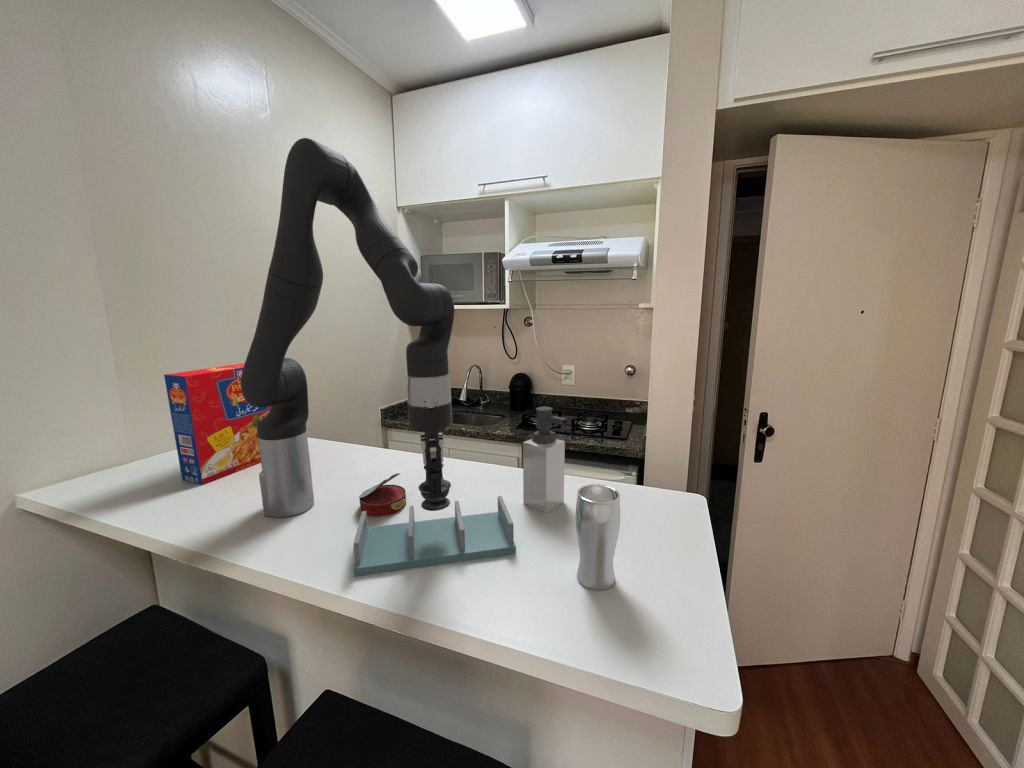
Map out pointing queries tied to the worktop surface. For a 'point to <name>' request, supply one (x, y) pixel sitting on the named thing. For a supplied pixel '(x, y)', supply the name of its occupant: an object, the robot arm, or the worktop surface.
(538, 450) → the soap dispenser
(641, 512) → the worktop surface
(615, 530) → the beer glass
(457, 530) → the rack
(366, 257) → the robot arm
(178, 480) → the worktop surface
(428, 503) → the grey chess piece
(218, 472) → the pasta box
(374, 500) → the canned food
